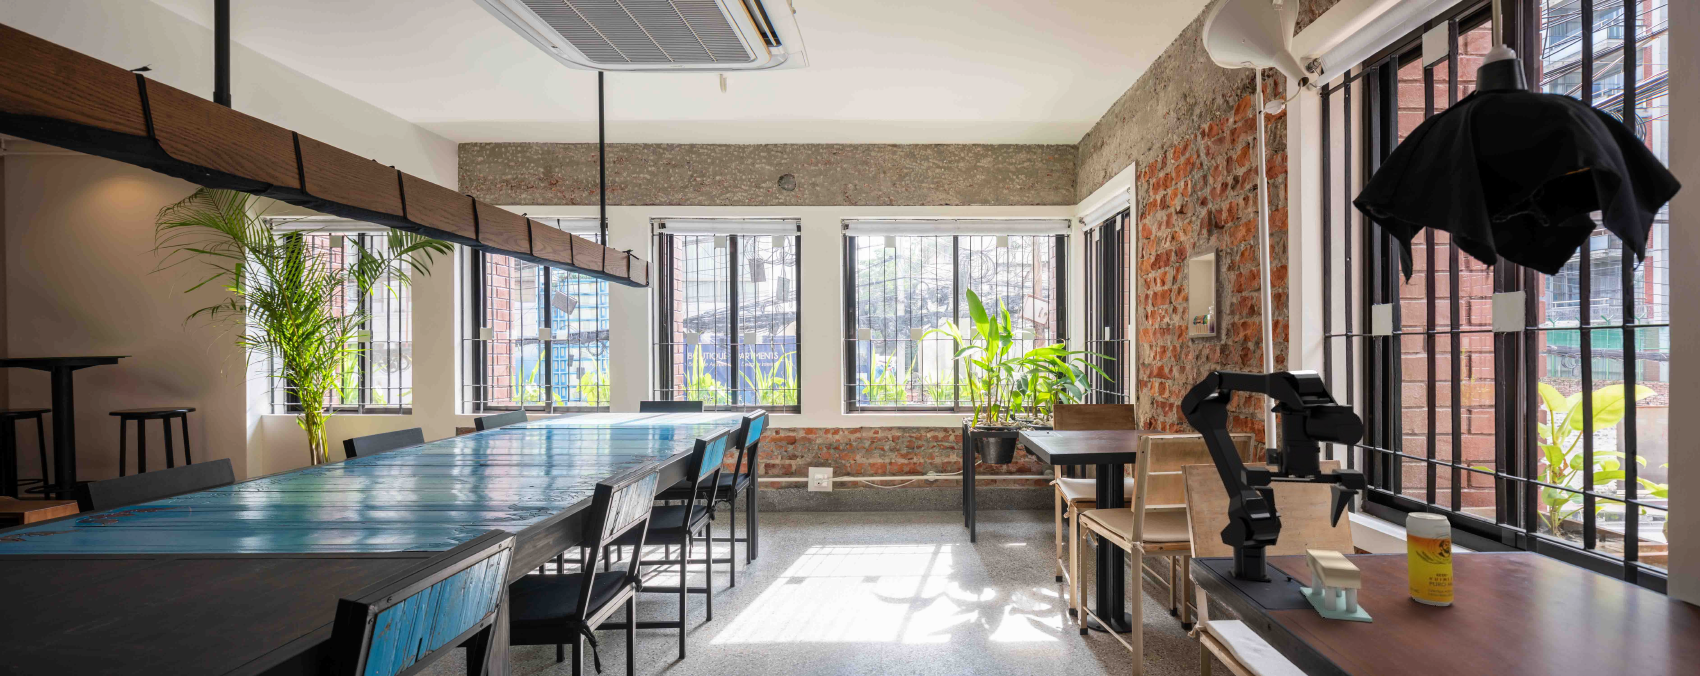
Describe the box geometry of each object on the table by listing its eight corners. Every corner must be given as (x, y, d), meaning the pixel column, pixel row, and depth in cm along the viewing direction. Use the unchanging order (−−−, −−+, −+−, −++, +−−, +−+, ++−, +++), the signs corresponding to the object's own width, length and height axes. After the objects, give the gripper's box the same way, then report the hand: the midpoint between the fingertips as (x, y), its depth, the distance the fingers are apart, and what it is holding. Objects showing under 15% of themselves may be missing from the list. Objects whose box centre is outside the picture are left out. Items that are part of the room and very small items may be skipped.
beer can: (1436, 608, 120) (1433, 520, 121) (1400, 597, 126) (1397, 513, 126) (1462, 604, 122) (1458, 517, 122) (1425, 593, 128) (1422, 510, 128)
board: (1361, 588, 117) (1360, 570, 117) (1326, 585, 118) (1325, 567, 118) (1338, 567, 128) (1337, 550, 128) (1306, 565, 130) (1305, 548, 130)
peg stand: (1300, 590, 131) (1299, 563, 131) (1344, 593, 128) (1343, 566, 128) (1322, 617, 118) (1321, 587, 118) (1372, 621, 115) (1371, 591, 115)
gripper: (1346, 435, 132) (1349, 518, 132) (1234, 433, 138) (1237, 513, 138) (1367, 442, 122) (1370, 532, 121) (1245, 440, 128) (1248, 526, 127)
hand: (1303, 525), depth 127 cm, fingers open, 9 cm apart
